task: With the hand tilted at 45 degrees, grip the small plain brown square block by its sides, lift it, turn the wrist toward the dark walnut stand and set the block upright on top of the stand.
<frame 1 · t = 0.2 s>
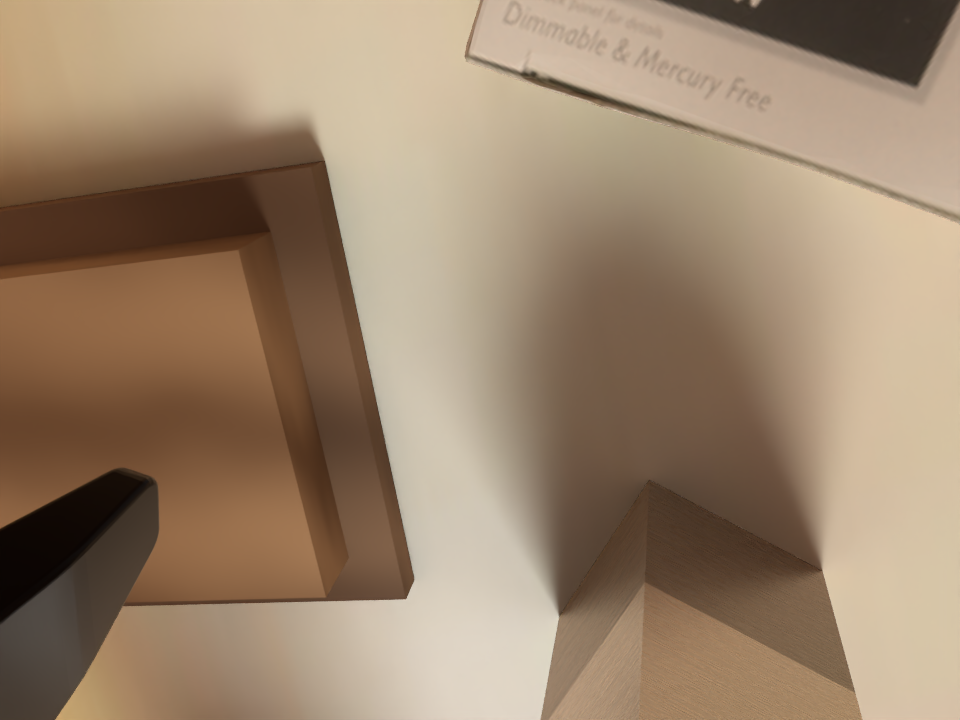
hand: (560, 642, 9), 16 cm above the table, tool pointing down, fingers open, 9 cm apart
walnut stand: (171, 403, 28), on the table
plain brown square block: (685, 594, 27), on the table
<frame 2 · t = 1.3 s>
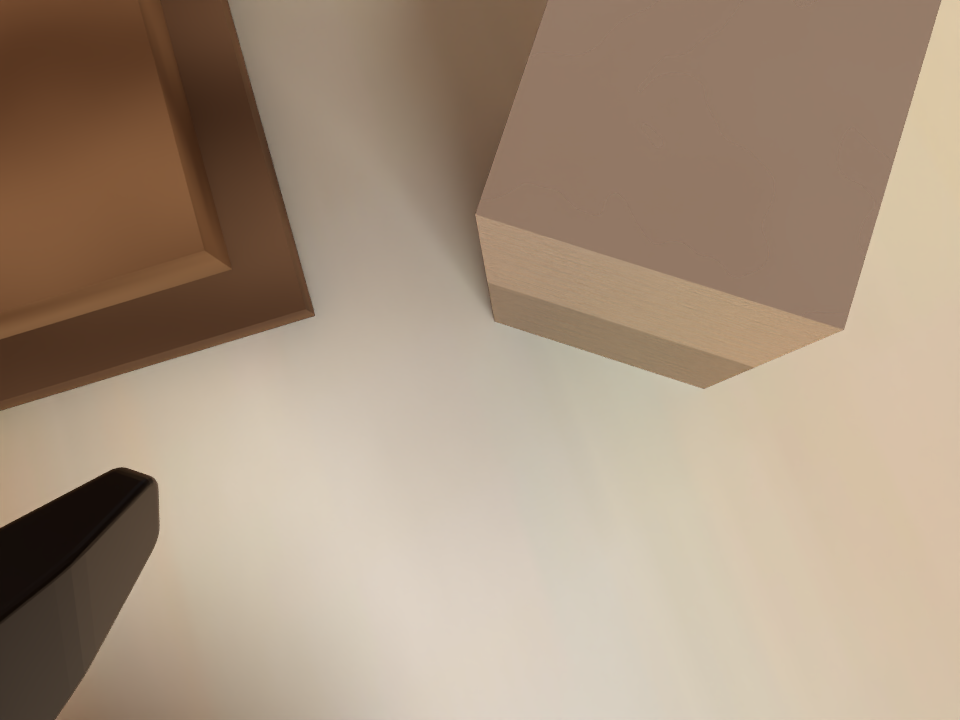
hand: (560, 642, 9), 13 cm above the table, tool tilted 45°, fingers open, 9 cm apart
walnut stand: (16, 154, 24), on the table
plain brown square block: (631, 252, 23), on the table
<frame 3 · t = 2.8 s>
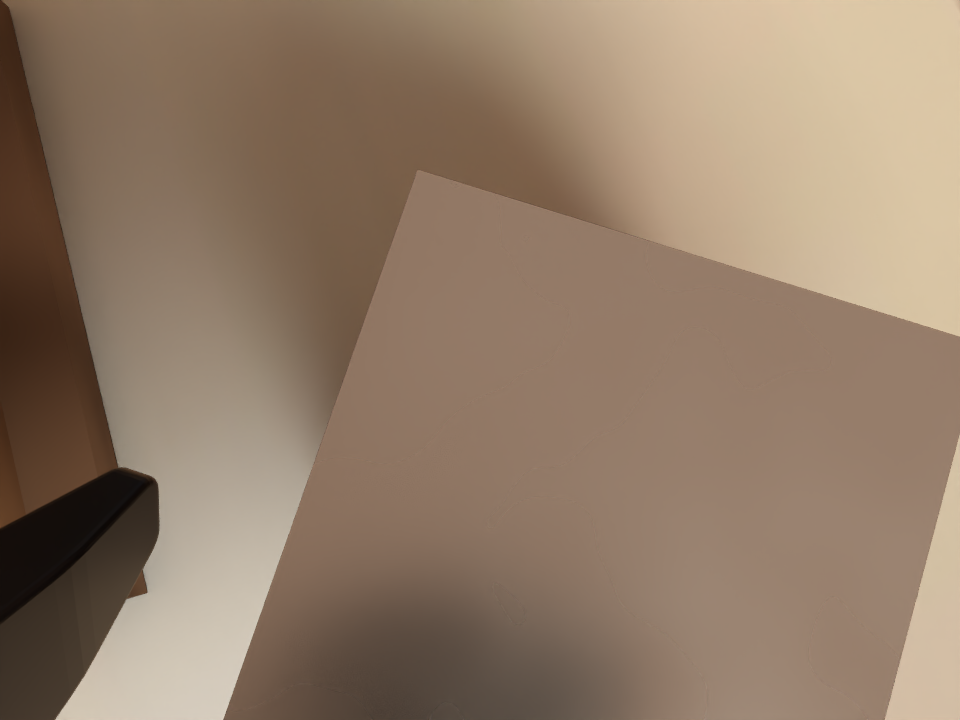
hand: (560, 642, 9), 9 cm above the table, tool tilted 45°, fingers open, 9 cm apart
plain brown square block: (554, 512, 18), on the table
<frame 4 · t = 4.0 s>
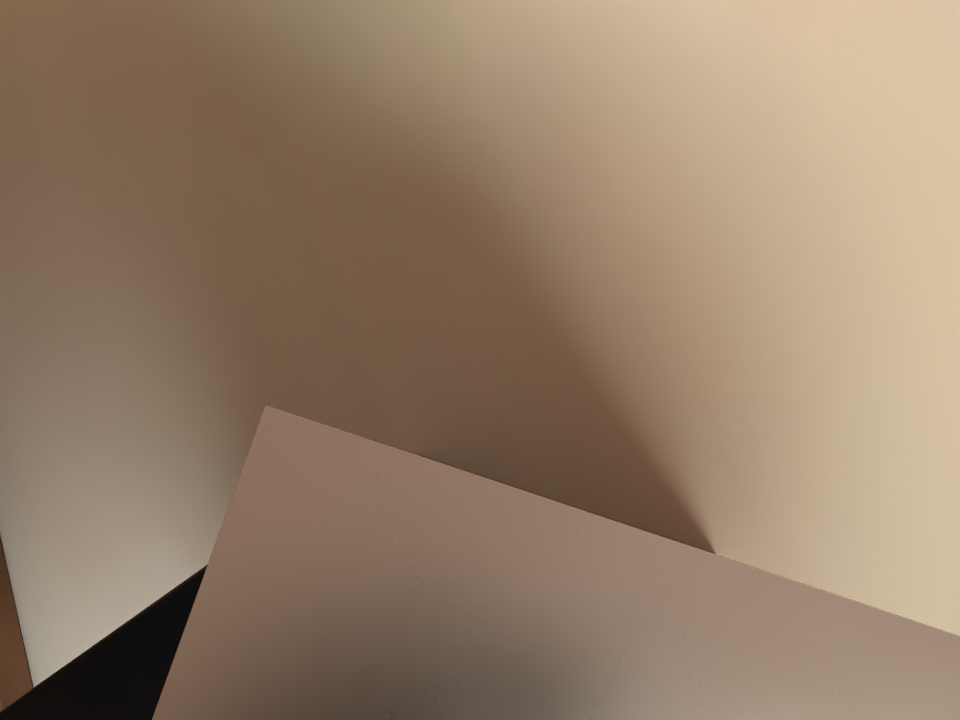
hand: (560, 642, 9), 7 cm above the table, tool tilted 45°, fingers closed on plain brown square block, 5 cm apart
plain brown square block: (515, 657, 16), on the table, touching gripper
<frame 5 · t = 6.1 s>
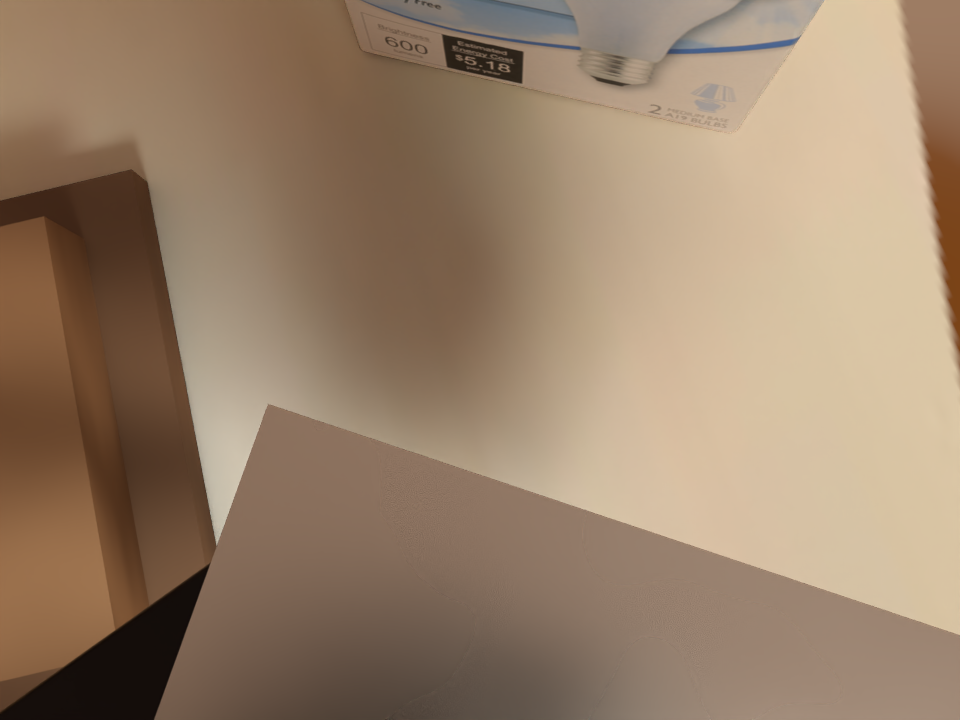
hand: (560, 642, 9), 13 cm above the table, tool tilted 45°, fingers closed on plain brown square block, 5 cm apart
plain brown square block: (516, 657, 16), point 7 cm above the table, touching gripper
when the fingers open (11 cm above the table, at t = 8.3 s): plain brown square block drops 1 cm, resting on walnut stand.
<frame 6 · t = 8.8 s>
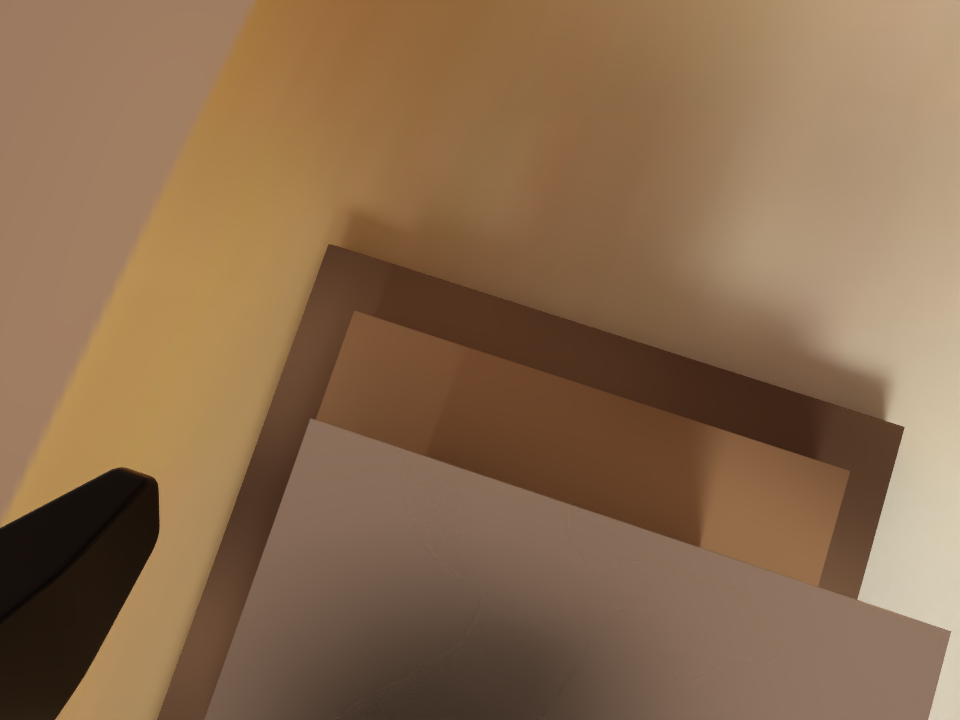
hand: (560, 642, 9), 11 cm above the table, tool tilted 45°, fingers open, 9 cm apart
walnut stand: (516, 618, 20), on the table
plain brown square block: (516, 641, 17), point 3 cm above the table, touching walnut stand
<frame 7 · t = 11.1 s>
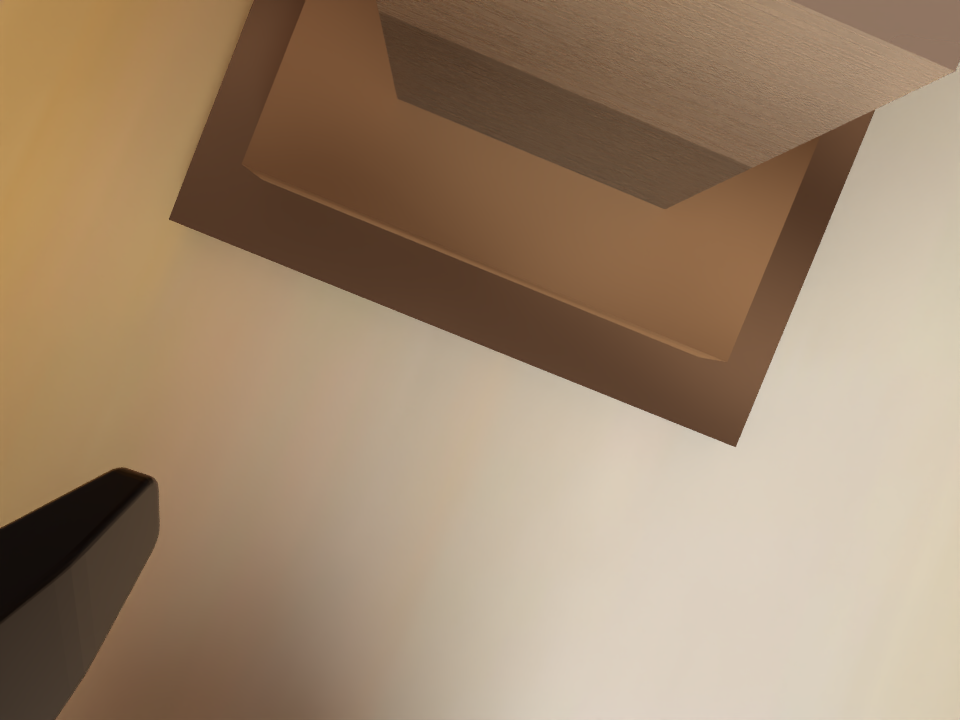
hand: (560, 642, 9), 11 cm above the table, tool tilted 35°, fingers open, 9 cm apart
walnut stand: (566, 62, 20), on the table
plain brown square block: (586, 18, 17), point 3 cm above the table, touching walnut stand
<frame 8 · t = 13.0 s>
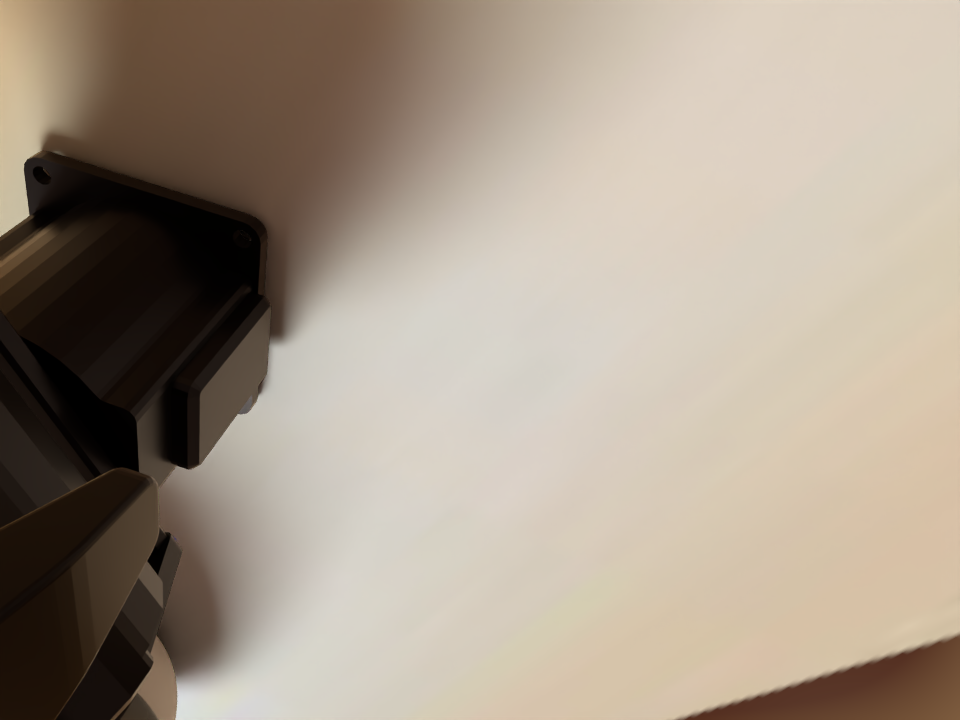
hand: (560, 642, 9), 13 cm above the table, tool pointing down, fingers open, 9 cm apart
pump dispenser: (100, 622, 37), on the table
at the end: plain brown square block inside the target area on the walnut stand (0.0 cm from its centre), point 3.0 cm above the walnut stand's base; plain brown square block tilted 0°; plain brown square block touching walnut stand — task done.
